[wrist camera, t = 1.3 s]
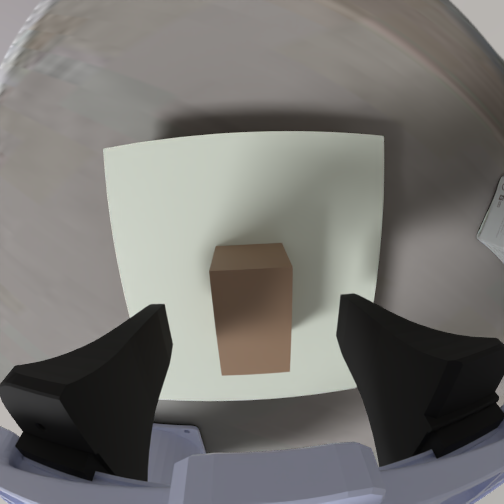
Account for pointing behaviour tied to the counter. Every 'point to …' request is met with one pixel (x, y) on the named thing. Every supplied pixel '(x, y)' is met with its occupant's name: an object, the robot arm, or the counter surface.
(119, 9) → the counter surface
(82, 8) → the counter surface
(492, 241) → the skincare box
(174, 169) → the lid
